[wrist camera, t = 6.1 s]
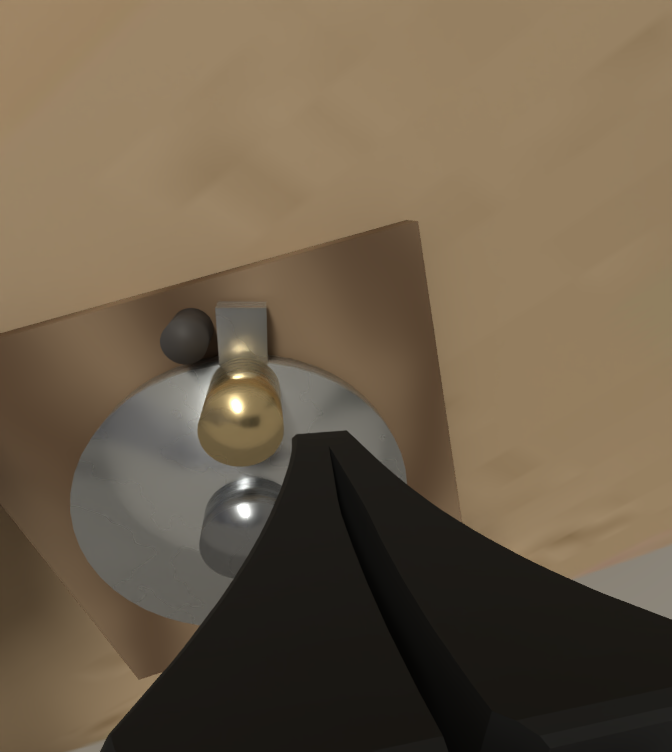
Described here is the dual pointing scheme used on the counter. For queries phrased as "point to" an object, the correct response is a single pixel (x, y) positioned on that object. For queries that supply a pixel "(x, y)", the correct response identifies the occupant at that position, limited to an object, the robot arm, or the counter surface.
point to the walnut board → (199, 341)
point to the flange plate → (206, 465)
